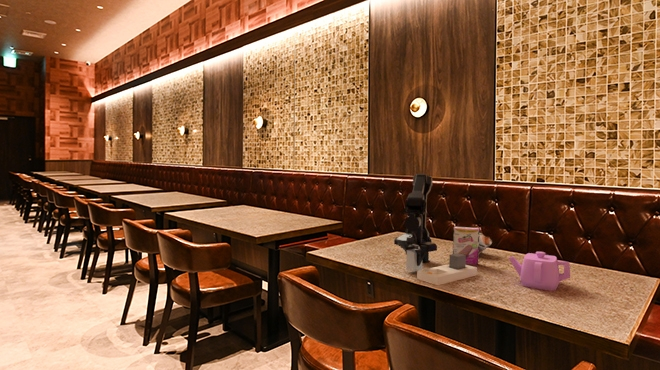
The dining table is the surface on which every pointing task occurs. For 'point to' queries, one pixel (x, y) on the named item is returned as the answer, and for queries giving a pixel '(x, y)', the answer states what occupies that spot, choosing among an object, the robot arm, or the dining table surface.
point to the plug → (412, 261)
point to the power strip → (445, 274)
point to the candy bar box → (466, 243)
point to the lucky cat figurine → (483, 242)
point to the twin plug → (457, 261)
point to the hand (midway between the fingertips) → (414, 264)
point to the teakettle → (541, 271)
